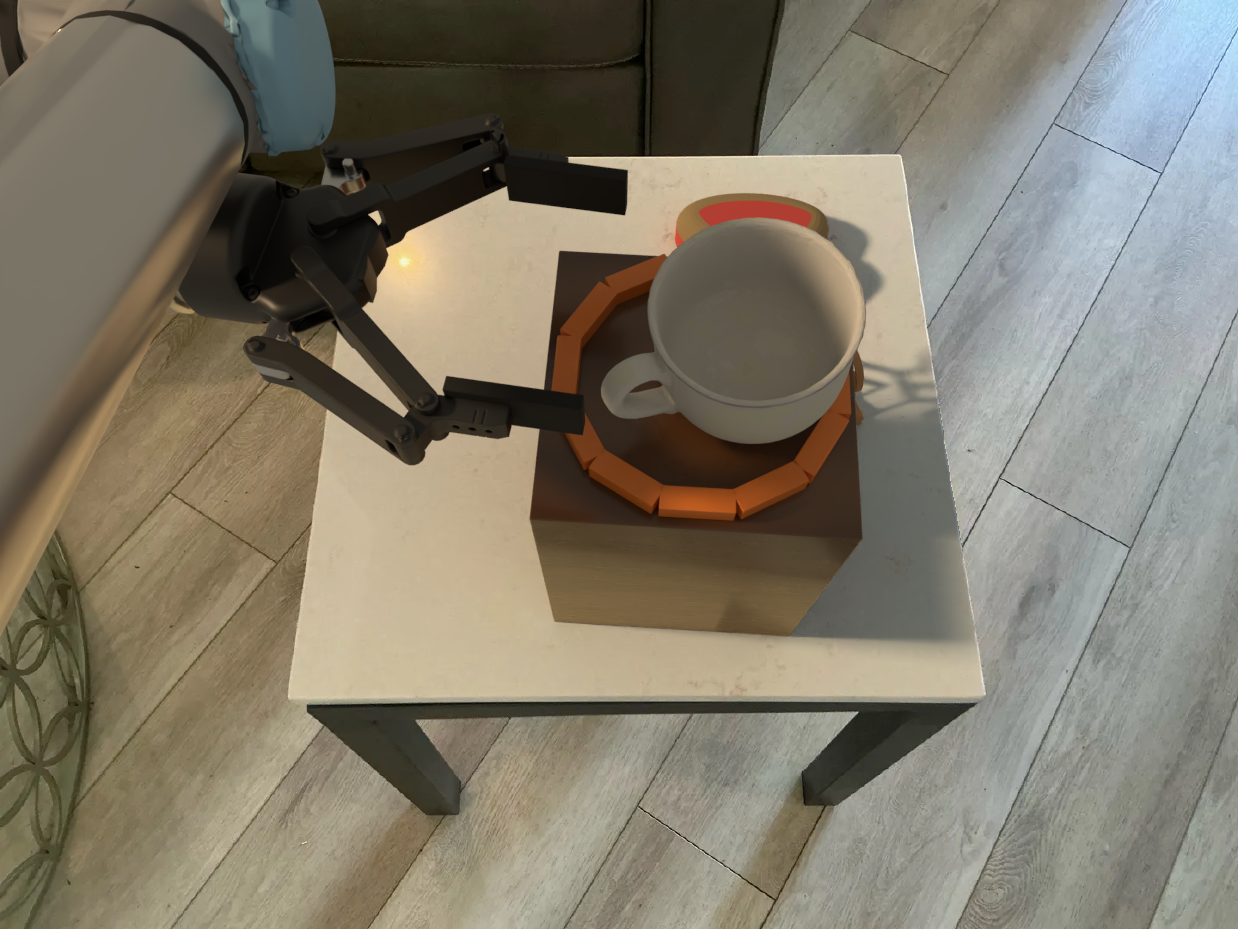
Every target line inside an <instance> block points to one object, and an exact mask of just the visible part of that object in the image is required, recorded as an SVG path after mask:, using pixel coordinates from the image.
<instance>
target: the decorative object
mask: <svg viewBox="0 0 1238 929" xmlns="http://www.w3.org/2000/svg"><path fill="white" fill-rule="evenodd" d="M757 217H758V218H770V219H779V220H783V221H789V222H792V223H796V224H798V225H801V226H803V227H806V228H808V229H811V230H813V231H815V232H817V233H818V234H820V235H821V236H823V237H824V238H826V239H827V240H828V237H829V231H830V230H829V229H830V226H829V221H828V219H827V216H826V215H825V214H824V212H822V210H821V209H819V208H818V207H816V206H814V205H812V204H811V203H808V202H805V201H803V200H799V199H796V198H791V197H787V196H782V195H777V194H776V195H775V194H769V193H754V192H737V193H724V194H717V195H711V196H706V197H704V198H703V197H702V198H699V199H698V200H695V201H692V202H691V203H690V204H688V205H686V206H685V207H684V208H683V209H682V210H681V212H680V213H679V214H678V216H677V219H676V225H675V233H674V242H675V247H676V248H677V247H678V246H679V245H680V244H682V243H684V242H685V241H686V240H687V239H689V238H691V236H692V235H694V234H696V233H699V232H700V231H701V230H703V229H705V228H708V227H710V226H713V225H716V224H720V223H722V222H725V221H730V220H735V219H743V218H757Z"/></svg>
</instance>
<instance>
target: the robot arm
mask: <svg viewBox="0 0 1238 929" xmlns="http://www.w3.org/2000/svg"><path fill="white" fill-rule="evenodd" d="M334 64H335V63H334V57H333V52H332V46H331V41H330V37H329V32H328V29H327V25H326V21H325V17H324V14H323V10H322V8H321V5H320V2H319V0H0V638H1V637H2V635H3V633H4V631H5V629H6V627H7V625H8V623H9V621H10V620H11V617H12V615H13V614H14V611H15V609H16V607H17V606H18V604H19V602H20V600H21V598H22V596H23V594H24V593H25V590H26V589H27V587H28V584H29V582H30V581H31V578H32V576H33V574H34V572H35V570H36V568H37V566H38V564H39V562H40V560H41V558H42V557H43V555H44V553H45V551H46V549H47V547H48V545H49V543H50V541H51V539H52V537H53V535H54V533H55V531H56V529H57V528H58V525H59V524H60V521H61V520H62V517H63V516H64V514H65V511H66V510H67V508H68V506H69V504H70V502H71V500H72V498H73V496H74V494H75V492H76V490H77V488H78V486H79V484H80V483H81V480H82V478H83V477H84V475H85V473H86V471H87V469H88V467H89V465H90V463H91V461H92V459H93V457H94V455H95V453H96V451H97V449H98V447H99V445H100V444H101V442H102V440H103V438H104V436H105V433H106V432H107V430H108V428H109V426H110V423H111V422H112V420H113V418H114V416H115V413H116V412H117V410H118V409H119V406H120V404H121V403H122V400H123V399H124V396H125V394H126V393H127V390H128V389H129V386H130V384H131V383H132V380H133V379H134V377H135V375H136V373H137V371H138V369H139V367H140V365H141V363H142V361H143V359H144V357H145V356H146V353H147V351H148V349H149V347H150V345H151V343H152V341H153V339H154V338H155V336H156V333H157V331H158V330H159V328H160V326H161V324H162V322H163V320H164V318H165V316H166V314H167V312H168V313H169V312H170V313H176V314H188V315H189V314H191V315H192V314H194V313H195V314H197V315H199V316H201V317H204V318H210V319H215V320H221V321H222V320H224V321H230V322H236V323H243V324H252V325H260V326H261V325H266V327H265V329H264V331H263V333H262V334H261V335H253V336H251V337H249V338H248V339H247V340H245V342H244V343H243V346H242V349H243V353H244V354H245V356H246V357H247V359H248V360H249V361H250V362H251V364H252V365H253V367H254V368H255V370H256V371H257V373H259V376H260V377H261V378H262V379H263V380H264V381H265V382H267V383H270V384H271V383H272V384H273V385H274V384H275V385H277V386H282V387H286V388H290V389H294V390H298V391H300V392H302V393H303V394H304V395H306V396H307V397H309V398H310V399H312V400H313V401H314V402H316V403H317V404H319V405H320V406H321V407H323V408H324V409H326V410H328V411H329V412H330V413H332V414H333V415H335V416H336V417H337V418H339V419H340V420H341V421H343V422H345V423H346V424H348V426H350V427H352V428H353V429H354V430H356V431H357V432H359V433H361V434H362V435H363V436H365V437H367V439H369V440H370V441H372V442H373V443H374V444H376V445H377V446H379V447H380V448H381V449H383V450H384V451H386V452H387V453H389V454H390V455H392V456H393V457H395V458H396V459H398V460H399V461H400V462H402V463H403V464H405V465H408V466H417V465H419V464H420V463H422V462H423V461H424V459H425V457H426V453H427V452H426V449H427V448H428V447H429V445H430V444H431V443H432V441H434V442H440V441H443V440H446V439H447V437H448V436H449V435H450V433H452V434H459V435H465V436H471V437H473V436H474V437H481V438H486V439H487V438H488V439H494V440H502V439H506V438H510V434H511V430H512V427H513V426H514V427H515V426H516V427H520V428H521V427H522V428H529V429H535V430H539V429H542V430H549V431H556V432H563V433H570V434H576V435H583V431H584V426H585V409H584V395H579V394H572V393H565V392H558V391H551V390H544V388H537V387H530V386H522V385H515V384H507V383H500V382H494V381H486V380H481V379H480V380H479V379H473V378H472V379H471V378H464V377H457V376H451V375H445V378H444V382H443V385H442V393H443V394H439V393H437V391H436V390H435V388H434V387H433V386H432V385H430V383H429V382H428V381H427V380H426V379H425V378H424V376H423V375H422V374H421V373H420V372H419V371H418V370H417V368H415V366H414V365H413V364H412V363H411V362H410V361H409V359H408V358H407V357H406V356H405V355H404V354H403V353H402V351H401V350H400V349H399V348H398V347H397V346H396V345H395V344H394V343H393V341H392V340H391V339H390V338H389V337H388V336H387V335H386V333H385V332H384V331H383V330H382V329H381V328H380V326H378V324H377V323H376V322H375V321H374V320H373V319H372V317H370V316H369V314H368V313H367V312H366V311H365V310H364V307H366V306H367V305H368V304H370V303H371V304H373V303H374V302H375V298H376V296H377V293H378V277H379V276H380V275H381V273H382V271H383V270H384V268H385V267H386V264H387V261H388V259H389V256H390V254H389V252H388V248H390V247H393V246H394V245H397V244H399V243H401V242H402V241H403V240H404V239H405V237H406V235H407V234H408V233H409V232H410V231H412V230H415V229H416V228H417V229H418V228H419V227H422V226H423V225H426V224H428V223H430V222H432V221H435V220H436V219H439V218H441V217H443V216H445V215H448V214H450V213H451V212H454V211H456V210H459V209H461V208H463V207H465V206H467V205H469V204H472V203H474V202H475V201H476V202H477V200H480V199H483V198H484V197H486V196H488V195H491V194H493V193H496V192H498V191H500V190H502V189H504V188H506V190H507V198H508V201H509V202H515V203H524V204H532V205H539V206H548V207H554V208H555V207H556V208H562V209H569V210H570V209H571V210H578V211H586V212H595V213H603V214H609V215H617V216H626V213H627V208H628V193H629V192H628V189H629V188H628V186H629V183H628V182H629V169H624V168H615V167H609V166H608V167H606V166H599V165H593V164H592V165H591V164H585V163H575V162H570V160H569V157H568V156H566V155H564V154H562V153H560V152H559V153H558V152H549V151H542V150H535V149H527V148H521V147H520V148H519V147H514V146H512V145H510V144H509V142H508V139H507V134H506V132H505V127H504V126H505V125H504V120H503V117H502V115H500V114H498V113H495V112H488V113H483V114H480V115H476V116H470V117H465V118H463V119H457V120H453V121H448V122H445V123H444V122H443V123H441V124H436V125H431V126H427V127H423V128H419V129H413V130H411V131H406V132H401V133H397V134H393V135H387V136H384V137H379V138H375V139H371V140H366V141H353V140H328V141H326V140H327V138H328V137H329V135H330V132H331V130H332V128H333V123H334V118H335V112H336V111H335V110H336V96H337V94H336V75H335V66H334ZM481 139H483V140H481ZM325 141H326V142H325ZM317 146H320V148H319V152H320V155H321V157H322V161H323V162H324V165H325V167H324V171H323V174H322V179H321V184H318V185H316V186H312V187H306V188H297V187H293V186H291V185H288V184H286V183H284V182H282V181H280V180H278V179H276V178H273V177H271V176H267V175H259V174H251V173H242V172H239V171H240V170H241V169H242V167H243V166H244V164H245V162H246V160H247V158H248V156H249V154H267V156H268V157H278V156H279V155H280V154H281V153H285V152H286V153H287V152H298V151H308V150H311V149H314V148H315V147H317ZM487 168H488V169H487ZM374 212H378V215H379V217H380V223H379V224H378V222H377V221H376V220H375V219H374V218H373V217H371V214H372V213H374ZM329 323H330V325H331V326H332V327H333V328H334V329H335V330H336V332H338V334H339V335H340V336H341V338H342V339H344V340H345V342H346V343H347V344H348V346H350V348H351V349H354V350H355V351H356V352H357V354H358V355H360V357H361V358H362V359H363V360H364V362H366V364H367V365H368V366H369V367H370V369H371V370H372V371H373V372H374V373H375V374H376V375H377V377H378V378H379V379H380V380H381V382H382V383H383V384H385V386H386V387H387V389H389V391H391V392H392V394H393V395H394V396H395V397H396V399H397V400H398V401H399V402H400V403H401V404H402V405H403V407H404V408H405V409H406V410H407V412H406V414H405V415H404V416H403V415H401V414H399V413H398V412H397V411H395V410H394V409H392V408H391V407H389V406H388V405H386V404H385V403H383V402H382V401H380V400H379V399H378V398H376V397H375V396H373V395H372V394H370V393H369V392H367V391H366V390H365V389H364V388H362V387H360V386H358V385H357V384H356V383H355V382H353V381H351V380H350V379H348V378H347V377H345V376H344V375H342V374H341V373H340V372H338V371H337V370H335V369H333V367H331V366H329V365H328V364H326V363H325V362H323V361H322V360H320V359H319V358H318V357H316V356H314V355H313V354H312V353H310V352H309V351H307V350H306V349H305V348H304V346H303V344H302V342H301V341H300V338H298V337H297V336H295V335H301V334H304V333H308V332H309V331H312V330H314V329H316V328H319V327H322V326H324V325H327V324H329Z"/></svg>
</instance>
